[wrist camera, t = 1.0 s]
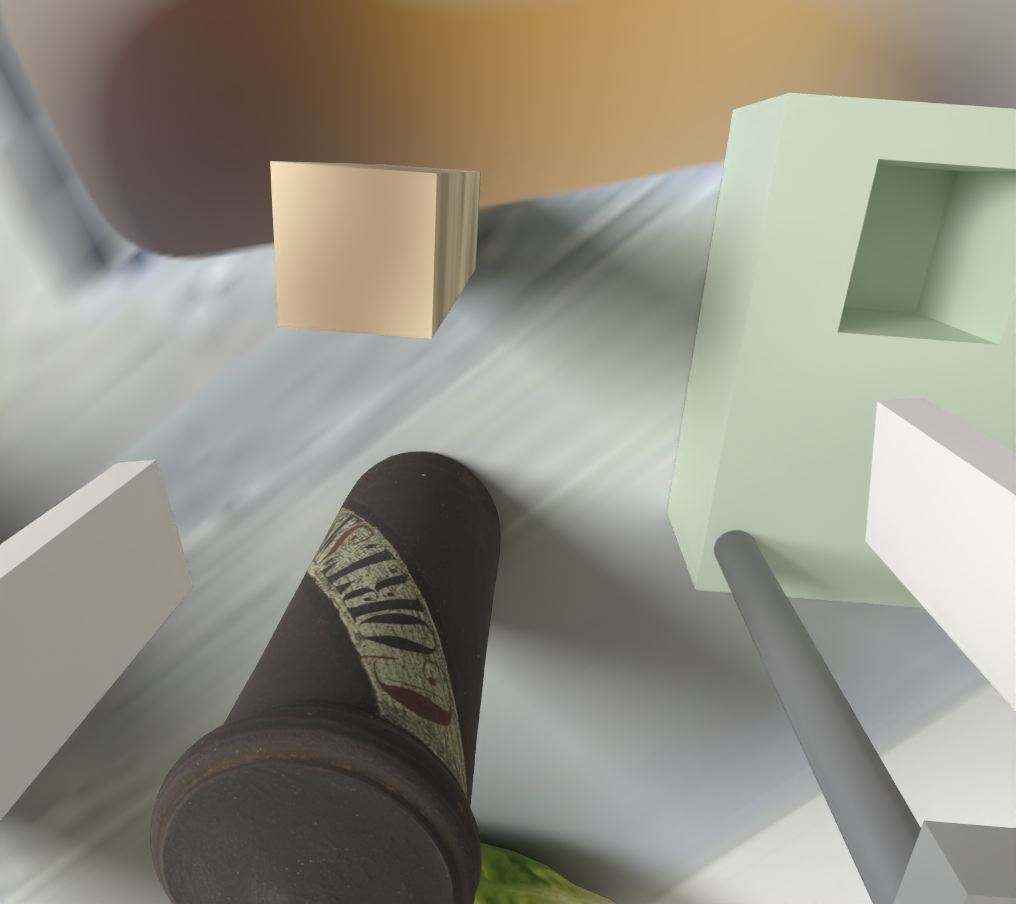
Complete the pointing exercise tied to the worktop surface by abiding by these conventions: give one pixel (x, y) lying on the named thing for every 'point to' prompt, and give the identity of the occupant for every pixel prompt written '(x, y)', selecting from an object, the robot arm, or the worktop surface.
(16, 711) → the robot arm
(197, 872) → the container
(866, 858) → the socket station
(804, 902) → the worktop surface
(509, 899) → the lettuce
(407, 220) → the peg
